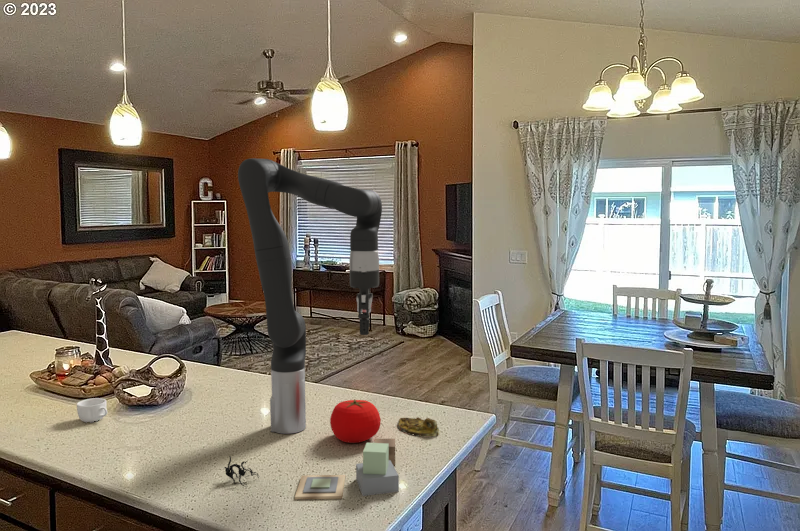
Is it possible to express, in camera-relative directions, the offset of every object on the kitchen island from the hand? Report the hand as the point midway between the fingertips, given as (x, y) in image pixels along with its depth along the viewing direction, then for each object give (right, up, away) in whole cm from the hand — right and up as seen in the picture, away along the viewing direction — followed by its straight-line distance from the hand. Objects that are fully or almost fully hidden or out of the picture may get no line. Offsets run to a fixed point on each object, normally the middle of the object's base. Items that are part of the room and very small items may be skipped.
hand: (364, 331), depth 151 cm
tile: (-8, -32, -21) cm, 40 cm away
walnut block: (+5, -31, -8) cm, 33 cm away
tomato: (-3, -30, +7) cm, 31 cm away
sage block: (+4, -29, -20) cm, 35 cm away
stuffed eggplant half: (+14, -30, +14) cm, 36 cm away
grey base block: (+4, -33, -20) cm, 38 cm away
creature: (-27, -32, -17) cm, 45 cm away
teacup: (-80, -29, +21) cm, 88 cm away
